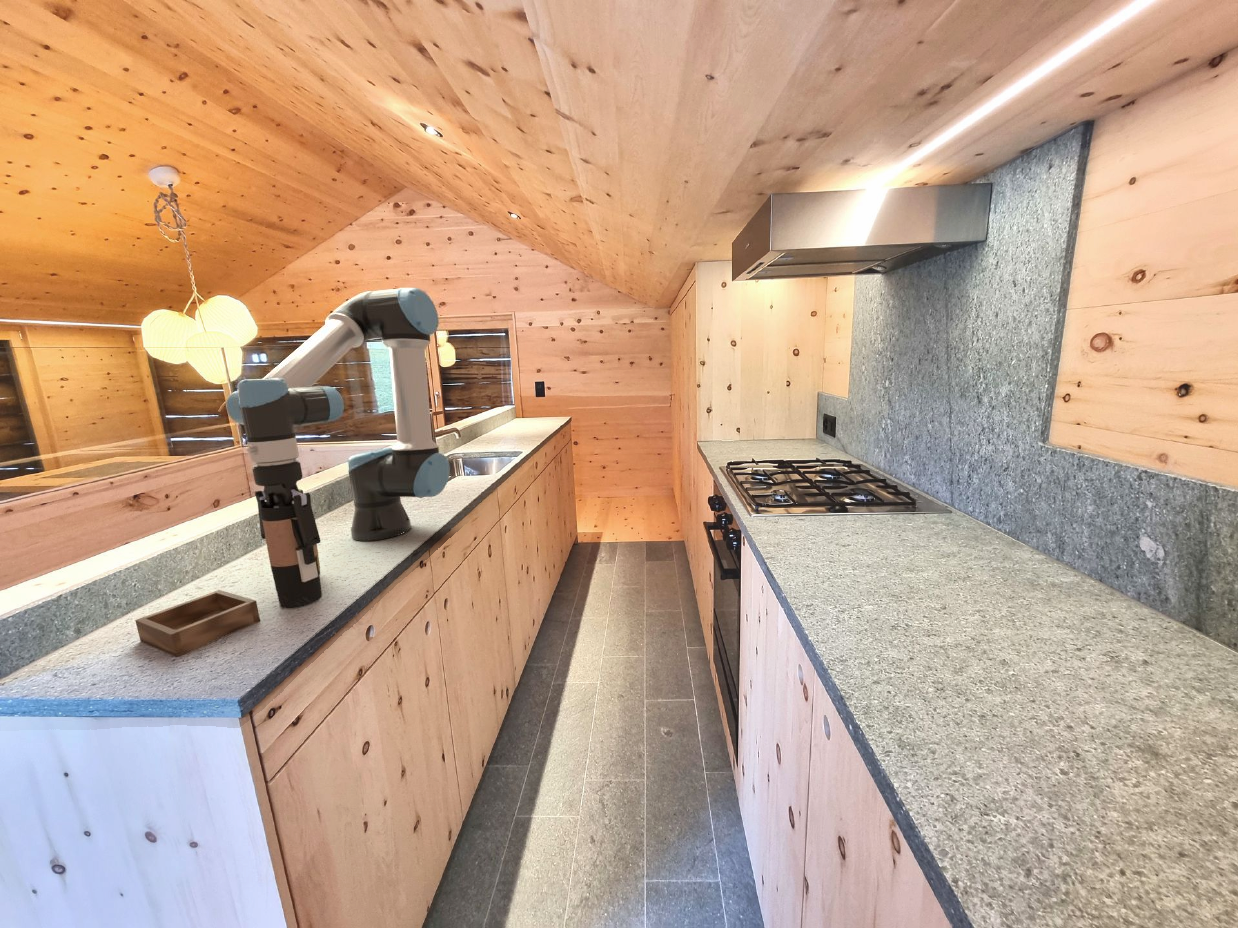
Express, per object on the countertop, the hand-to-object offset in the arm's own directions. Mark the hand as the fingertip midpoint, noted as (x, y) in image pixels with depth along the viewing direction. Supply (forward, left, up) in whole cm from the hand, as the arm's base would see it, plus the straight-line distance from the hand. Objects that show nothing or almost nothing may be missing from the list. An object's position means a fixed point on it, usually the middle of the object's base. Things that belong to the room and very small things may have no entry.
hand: (296, 575), depth 98 cm
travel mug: (0, 0, -5) cm, 5 cm away
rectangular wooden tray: (+15, -5, -5) cm, 16 cm away
